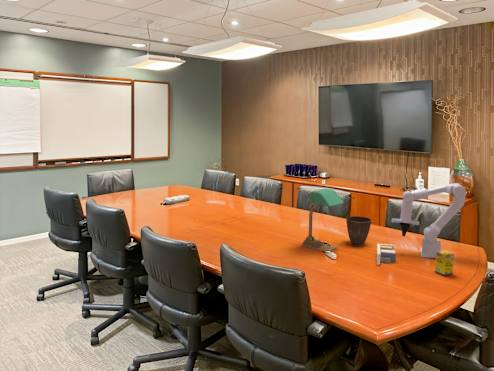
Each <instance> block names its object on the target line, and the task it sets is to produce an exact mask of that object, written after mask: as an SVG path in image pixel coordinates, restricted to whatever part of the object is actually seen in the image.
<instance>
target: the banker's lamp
mask: <svg viewBox="0 0 494 371" xmlns="http://www.w3.org/2000/svg"><path fill="white" fill-rule="evenodd" d="M307 203H308V208H310V210H309V212H308V215H309V216H308V235H307V236H306V238H305V239H304V240H303V241H302V244H301V246H302V247H305V248H308V249H312V250H317V251H320V252H323V251H330V252H331V253H333V252H335V251H338V246H336V247H335V246H331V245H327V244H325V243H324V242H323V241H321V240H319V239H315V236H313V213H314V210H315V209H318V208H320V207H322V206H325V207H333V206H337V205H340V204H344V201H343V200H342V199H341V197H340V196H339V194H338V193H337V192H336V191H335V189H331V188H322V189H317V190H312V191H311V192H310V193H309V197H308V201H307ZM312 204H315V206H313V207H312Z"/></svg>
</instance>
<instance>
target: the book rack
mask: <svg viewBox="0 0 494 371" xmlns="http://www.w3.org/2000/svg"><path fill="white" fill-rule="evenodd" d="M381 249H382V250H395V245H394V244H385V243H376V265H378V266H381V263H384V264H385V263H386V264H391V262H390V261H391V258H385V257H380V255H381V253H380V250H381Z"/></svg>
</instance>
